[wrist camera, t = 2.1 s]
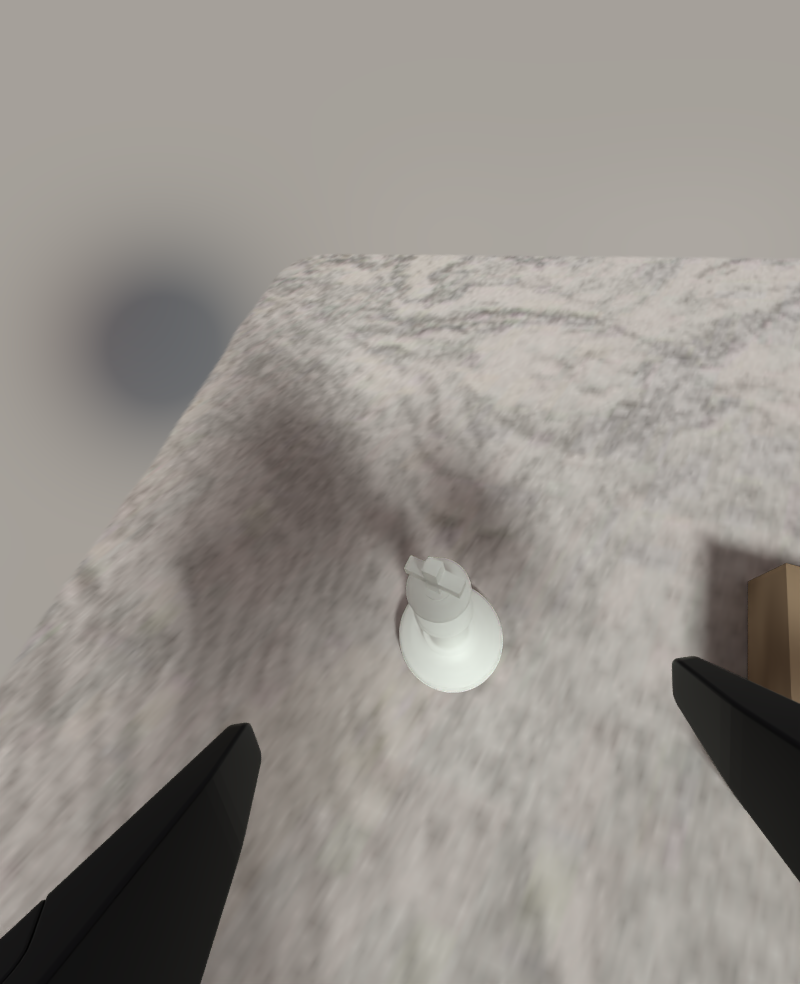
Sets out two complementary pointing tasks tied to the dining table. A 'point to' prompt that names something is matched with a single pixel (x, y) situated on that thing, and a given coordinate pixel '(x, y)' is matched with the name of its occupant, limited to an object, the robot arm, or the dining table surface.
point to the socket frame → (775, 631)
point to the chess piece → (447, 627)
